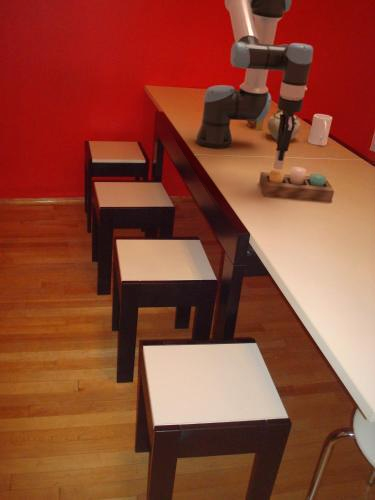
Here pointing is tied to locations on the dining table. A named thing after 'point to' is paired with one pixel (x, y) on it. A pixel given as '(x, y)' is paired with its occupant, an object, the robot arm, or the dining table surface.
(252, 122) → the candy box
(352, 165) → the dining table surface
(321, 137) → the mug
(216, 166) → the dining table surface
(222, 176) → the dining table surface
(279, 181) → the orange rounded ball
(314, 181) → the teal egg
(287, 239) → the dining table surface
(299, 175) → the pink round piece
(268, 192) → the wooden compartment tray
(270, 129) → the sugar bowl
